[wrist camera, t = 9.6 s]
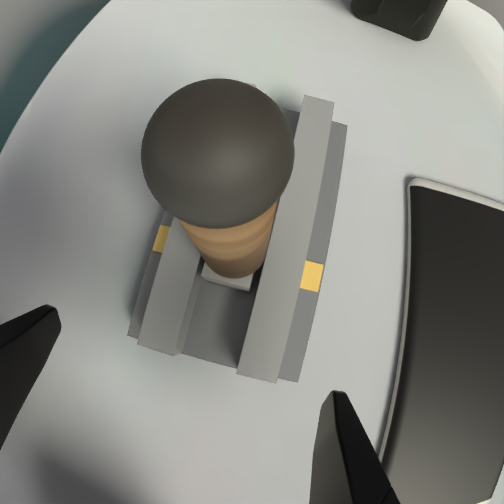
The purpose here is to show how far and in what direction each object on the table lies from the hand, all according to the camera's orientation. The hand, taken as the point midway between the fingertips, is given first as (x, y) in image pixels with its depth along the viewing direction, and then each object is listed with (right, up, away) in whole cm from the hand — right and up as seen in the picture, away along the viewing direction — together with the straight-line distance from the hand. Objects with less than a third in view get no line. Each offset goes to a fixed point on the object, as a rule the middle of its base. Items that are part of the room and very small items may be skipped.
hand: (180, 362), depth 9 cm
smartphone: (+18, -5, +10) cm, 22 cm away
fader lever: (+1, +3, +9) cm, 10 cm away
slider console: (+2, +5, +12) cm, 13 cm away
